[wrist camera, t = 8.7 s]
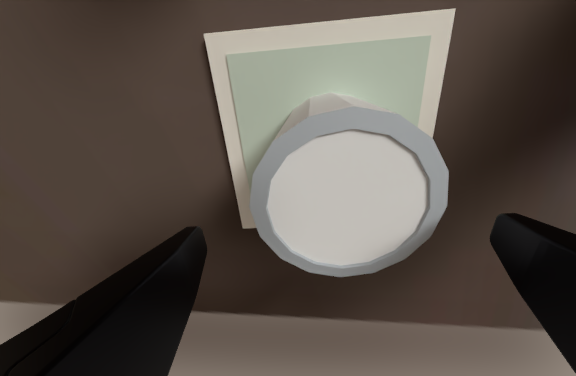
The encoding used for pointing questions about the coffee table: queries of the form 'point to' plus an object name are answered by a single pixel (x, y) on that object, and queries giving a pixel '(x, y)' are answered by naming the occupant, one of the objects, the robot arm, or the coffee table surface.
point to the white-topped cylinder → (348, 187)
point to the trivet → (323, 77)
